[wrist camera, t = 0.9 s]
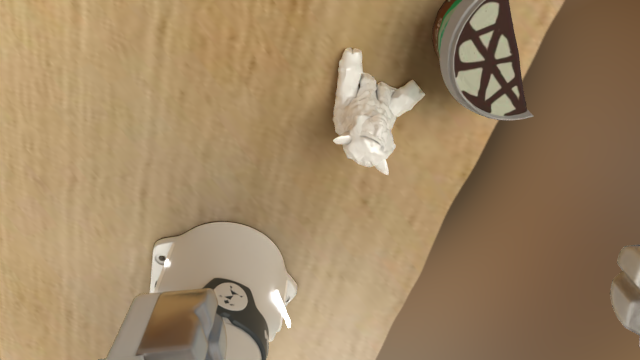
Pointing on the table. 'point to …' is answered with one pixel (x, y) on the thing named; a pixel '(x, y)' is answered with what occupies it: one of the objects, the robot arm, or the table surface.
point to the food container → (480, 57)
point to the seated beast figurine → (368, 112)
